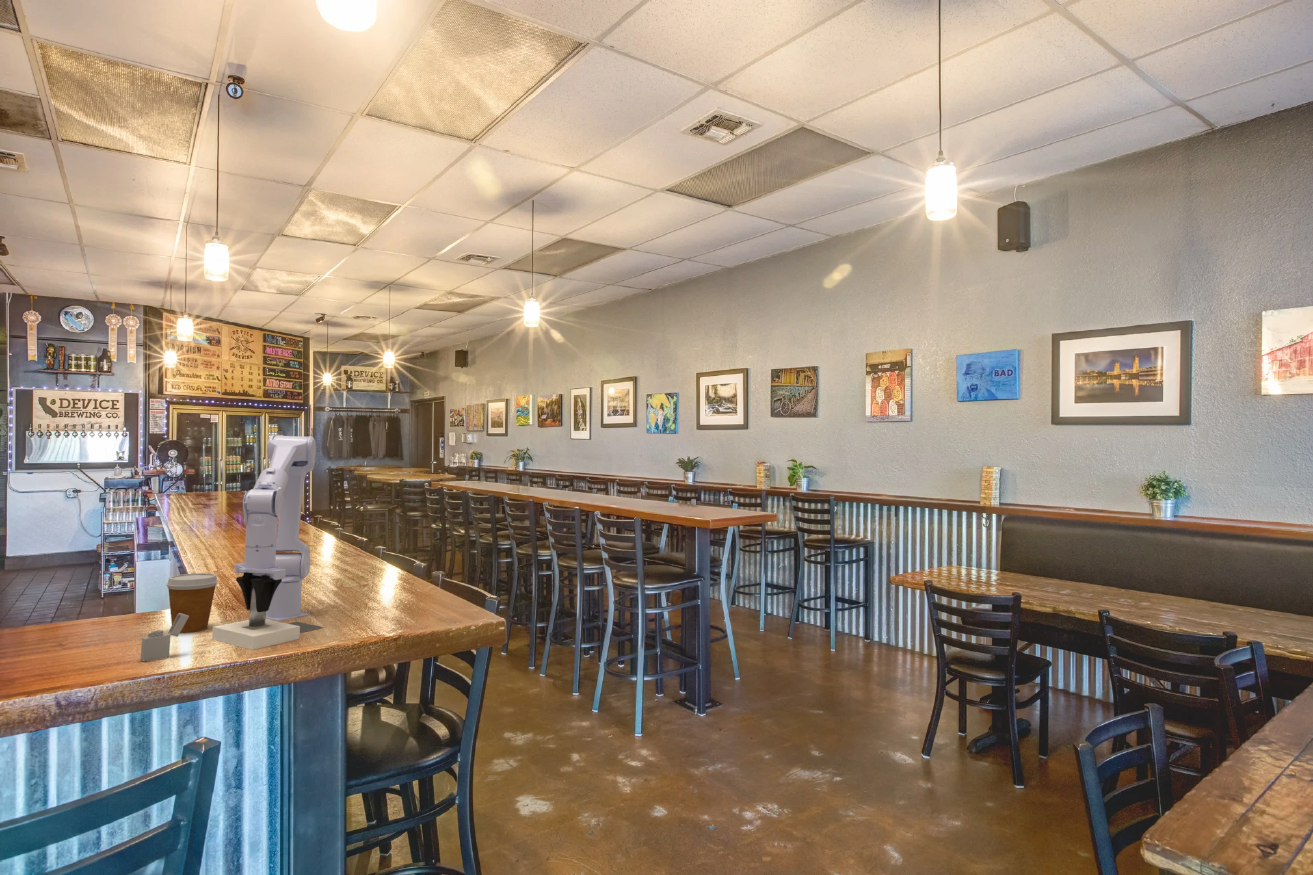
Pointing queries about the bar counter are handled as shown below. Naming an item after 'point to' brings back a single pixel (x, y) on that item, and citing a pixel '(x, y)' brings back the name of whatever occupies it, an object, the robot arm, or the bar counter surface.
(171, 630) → the lighter
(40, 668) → the bar counter surface
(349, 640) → the bar counter surface
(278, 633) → the block
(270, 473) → the robot arm
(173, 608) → the disposable coffee cup
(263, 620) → the peg
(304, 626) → the mat
